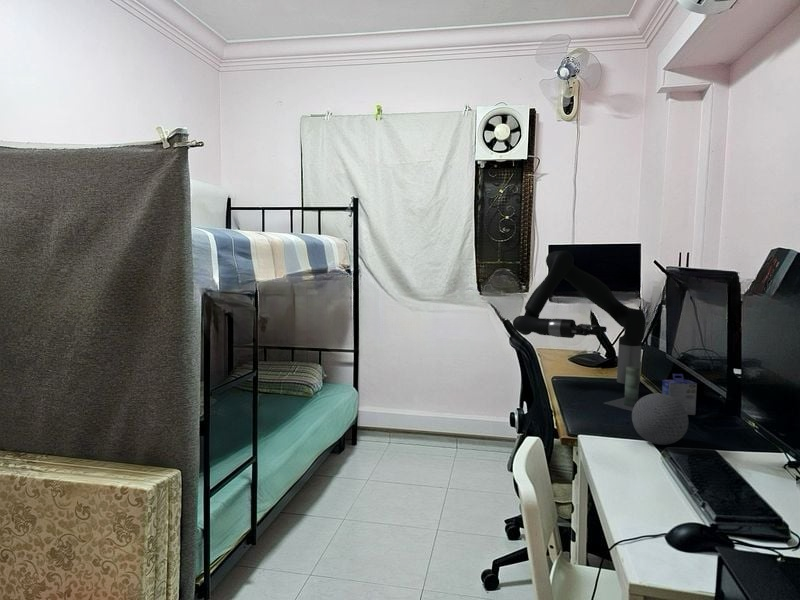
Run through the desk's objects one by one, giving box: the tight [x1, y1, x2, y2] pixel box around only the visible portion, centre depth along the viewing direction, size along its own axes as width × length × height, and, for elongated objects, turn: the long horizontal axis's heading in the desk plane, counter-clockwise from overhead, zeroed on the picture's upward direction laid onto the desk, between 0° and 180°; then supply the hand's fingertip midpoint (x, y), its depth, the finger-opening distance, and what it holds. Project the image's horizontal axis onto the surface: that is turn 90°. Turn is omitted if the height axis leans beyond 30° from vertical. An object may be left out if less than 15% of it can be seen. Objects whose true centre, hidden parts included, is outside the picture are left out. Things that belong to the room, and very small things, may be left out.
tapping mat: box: [603, 397, 634, 412], centre depth 185 cm, size 14×14×1 cm
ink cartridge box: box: [661, 373, 698, 416], centre depth 176 cm, size 10×6×14 cm, turn 89°
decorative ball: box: [631, 392, 689, 446], centre depth 149 cm, size 15×15×15 cm
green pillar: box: [623, 366, 640, 407], centre depth 185 cm, size 5×5×14 cm
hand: (603, 331), depth 195 cm, fingers open, 8 cm apart
